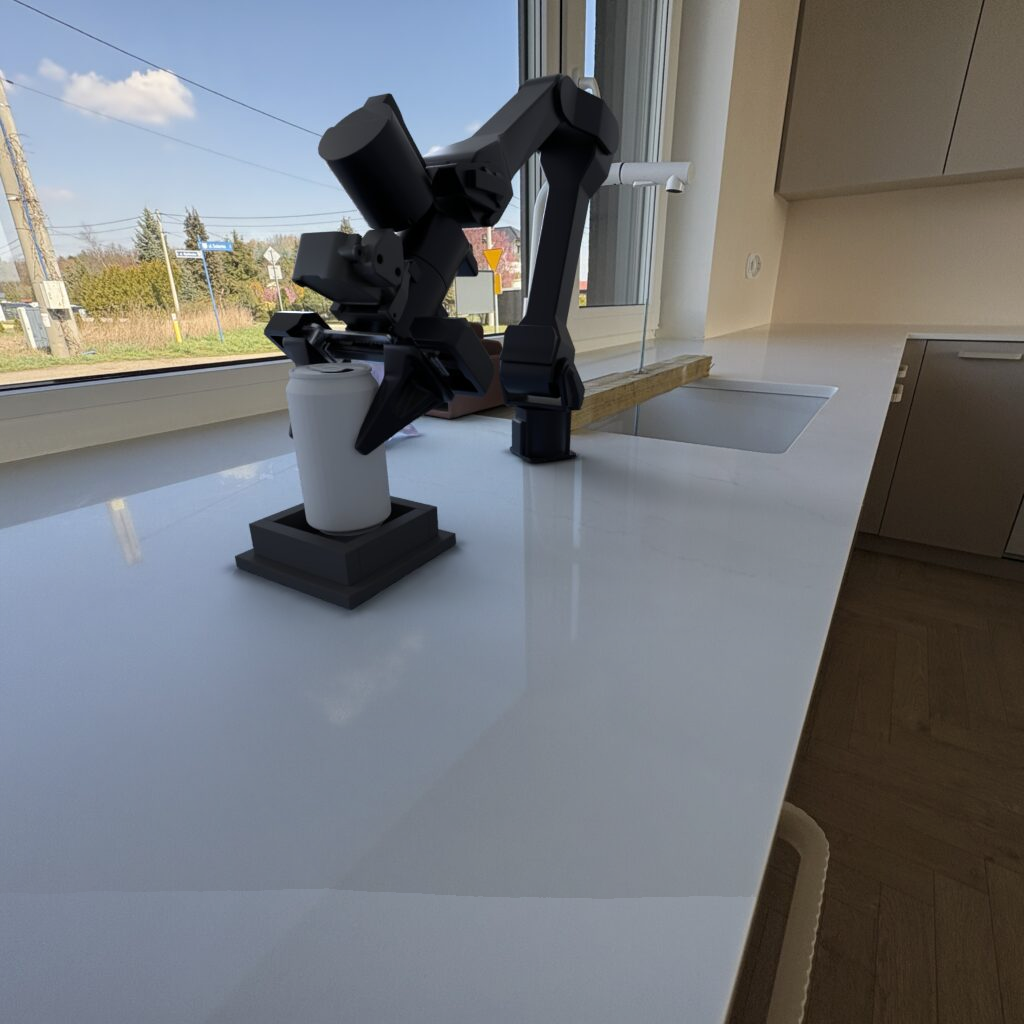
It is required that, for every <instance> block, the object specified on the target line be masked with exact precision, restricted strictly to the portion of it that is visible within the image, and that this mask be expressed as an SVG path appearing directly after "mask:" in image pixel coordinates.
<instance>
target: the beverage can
mask: <svg viewBox="0 0 1024 1024" xmlns="http://www.w3.org/2000/svg"><path fill="white" fill-rule="evenodd" d="M371 371H372V366H371V365H368V364H361V363H324V364H313V365H305V366H299V367H296V366H295V367H293V368H290V369H288V376H289V377H290V378H289V381H288V382H287V385H286V387H285V397H286V401H287V402H286V403H287V408H288V414H289V421H291V427H292V433H293V439H294V440H293V439H292V440H293V446H294V451H295V457H296V463H297V469H298V475H299V476H298V477H299V481H300V488H301V495H302V500H303V501H302V502H303V503H304V507H305V513H306V519H307V522H308V524H309V525H310V526H312V527H314V528H316V529H318V530H320V531H321V532H323V533H325V534H328V535H334V536H352V535H359V534H363V533H367V532H370V531H372V530H374V529H376V528H378V527H379V526H380V525H381V524H382V523H383V521H384V520H385V519H387V518H388V517H389V515H390V513H391V502H390V496H391V492H390V484H389V475H388V463H387V453H386V442H384V443H383V444H382V445H380V446H379V447H378V448H376V449H375V450H374V451H372V452H371V453H370V454H368V455H361V454H360V453H359V452H358V451H357V450H356V449H355V443H356V440H357V437H358V434H359V431H360V429H361V426H362V424H363V422H364V419H365V417H366V415H367V413H368V411H369V408H370V406H371V404H372V402H373V400H374V397H375V395H376V393H377V391H378V389H379V383H378V382H377V380H376V379H375V378H374V377H373V376H372V374H371Z"/></svg>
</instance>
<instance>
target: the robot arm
mask: <svg viewBox="0 0 1024 1024" xmlns="http://www.w3.org/2000/svg"><path fill="white" fill-rule="evenodd" d="M619 143H620V127H619V122H618V120H617V117H616V115H615V114H614V113H613V111H612V110H611V108H610V107H609V105H608V104H607V103H606V101H605V100H604V99H603V98H601V97H599V96H597V95H595V94H593V93H591V92H589V91H587V90H584V89H583V88H581V87H578V85H577V84H576V83H575V81H574V79H572V77H571V76H570V75H568V74H563V73H561V72H559V73H553V74H548V75H543V76H537V77H533V78H528V79H526V80H525V81H524V82H523V83H521V84H520V85H519V86H518V88H517V92H516V93H515V94H514V95H513V96H512V97H511V98H510V99H509V100H508V101H507V102H506V103H505V104H504V105H502V106H501V108H499V109H498V111H496V112H495V113H494V114H493V115H492V116H491V117H490V118H489V119H488V120H487V121H486V122H485V123H484V124H483V125H482V126H480V128H479V129H477V131H476V132H474V133H473V134H472V136H469V137H468V138H465V139H464V140H461V141H458V142H454V143H451V144H447V145H445V146H441V147H439V148H437V149H435V150H433V151H431V152H429V153H427V154H424V155H422V154H421V152H420V149H419V148H418V146H417V144H416V142H415V140H414V138H413V136H412V134H411V133H410V131H409V128H408V127H407V125H406V122H405V120H404V117H403V114H402V112H401V109H400V107H399V106H398V103H397V101H396V100H395V98H394V96H393V94H392V93H391V92H390V93H389V92H387V93H383V94H378V95H373V96H372V95H371V96H369V97H368V98H367V100H366V101H365V103H364V104H363V106H361V107H359V108H357V109H355V110H353V111H352V112H350V113H349V114H347V115H345V116H344V117H343V118H342V119H340V121H338V122H337V123H336V124H335V125H334V126H330V127H328V128H327V129H326V130H325V132H324V133H323V135H322V136H321V138H320V140H319V143H318V147H317V153H318V155H319V157H320V158H321V160H322V161H323V163H324V164H325V165H326V167H327V168H328V170H329V172H330V173H331V174H332V176H333V177H334V179H335V180H336V181H337V183H338V184H339V186H340V187H341V189H342V191H343V192H344V193H345V194H346V196H347V198H348V199H349V200H350V202H351V204H352V205H353V206H354V208H355V209H356V211H357V212H358V214H359V215H360V217H361V218H362V220H363V221H364V222H365V224H366V225H367V227H369V228H370V229H369V230H367V231H366V232H365V234H363V235H361V234H360V233H358V232H357V233H347V232H344V231H340V230H339V231H338V230H332V231H313V232H303V233H301V234H300V236H299V241H298V246H297V249H296V256H295V261H294V265H293V270H292V275H291V281H292V284H294V285H296V286H297V287H300V288H306V289H309V290H311V291H312V292H314V293H316V294H318V295H320V296H321V297H324V298H325V299H326V300H329V301H331V302H332V303H331V305H330V306H329V309H328V311H329V312H330V313H331V314H332V315H333V316H334V318H335V319H336V320H337V321H338V322H343V323H344V325H346V326H345V328H344V330H341V329H340V330H339V329H338V330H337V329H333V328H332V327H331V326H330V325H329V324H328V323H327V322H326V321H325V319H324V318H323V317H322V316H321V315H320V314H319V313H318V312H317V311H295V310H293V311H292V310H285V311H284V310H283V311H274V312H273V314H272V316H271V317H270V319H269V321H268V322H267V324H266V326H265V327H264V329H263V335H264V336H265V337H266V338H267V339H268V340H269V341H270V342H271V343H272V344H273V345H274V346H275V347H277V349H279V350H280V351H281V352H282V353H283V354H284V355H285V356H286V357H287V358H288V359H289V360H290V361H292V362H293V363H294V366H295V367H299V366H305V365H313V364H324V363H352V362H351V360H362V361H366V362H367V363H372V364H383V365H384V377H383V381H382V382H381V384H380V387H379V389H378V391H377V393H376V395H375V397H374V400H373V402H372V404H371V406H370V408H369V411H368V413H367V415H366V417H365V419H364V422H363V424H362V426H361V429H360V431H359V434H358V437H357V440H356V443H355V449H356V450H357V451H358V452H359V453H360V454H361V455H368V454H370V453H371V452H372V451H374V450H375V449H376V448H378V447H379V446H380V445H382V444H383V443H384V442H385V443H386V442H387V441H389V440H388V439H390V438H391V437H392V438H393V437H394V436H395V435H397V434H398V433H400V432H399V431H400V430H402V429H403V428H404V427H406V426H407V425H409V424H412V423H413V422H415V421H416V420H418V419H420V418H421V417H422V416H424V414H426V413H427V412H429V411H430V410H432V409H433V408H435V407H437V406H438V405H440V404H441V403H444V402H449V403H450V402H452V401H453V399H454V397H455V395H454V394H456V395H464V396H473V397H482V398H483V397H484V396H485V395H486V393H487V391H488V389H489V386H490V384H491V382H492V380H493V377H494V363H493V361H492V359H491V358H490V356H489V354H488V353H487V351H486V349H485V348H484V346H483V345H482V343H481V341H480V340H479V338H478V336H477V335H476V333H475V331H474V330H473V328H472V327H471V325H470V323H469V322H470V321H469V320H468V318H467V317H461V316H449V315H450V314H449V313H448V310H447V309H446V308H445V306H444V304H443V303H444V301H445V299H446V297H447V295H448V294H449V291H450V289H451V288H452V285H453V284H454V281H455V279H456V278H476V277H478V275H479V264H478V261H477V258H476V257H475V255H474V247H473V243H470V241H469V239H468V237H467V235H466V234H465V232H464V229H480V228H482V229H483V228H492V227H494V226H496V225H497V224H498V223H499V222H500V221H501V219H502V217H503V215H504V213H505V212H506V209H507V208H508V206H509V204H510V202H511V201H512V199H513V197H514V188H513V184H512V182H513V181H512V180H513V179H514V178H515V176H516V174H517V173H518V172H519V171H520V170H521V169H522V168H523V166H524V165H525V164H526V163H527V161H529V160H530V158H531V157H533V155H534V154H535V153H536V154H537V155H538V156H539V159H538V161H539V162H538V163H539V166H540V168H541V171H542V174H543V176H544V179H545V182H546V184H547V194H546V199H545V205H544V210H543V215H542V221H541V227H540V232H539V239H538V243H537V249H536V254H535V259H534V266H533V270H532V276H531V282H530V287H529V293H528V299H527V304H526V309H525V313H524V316H523V317H522V318H521V319H520V321H519V322H518V323H517V324H511V323H510V324H508V325H507V326H506V328H505V330H504V332H503V342H502V351H501V354H500V356H499V360H500V363H499V369H498V373H499V379H500V384H501V388H502V393H503V398H504V403H505V405H504V406H508V407H509V406H514V407H515V408H514V409H515V410H514V413H515V415H514V417H513V418H512V419H511V446H509V451H510V452H511V453H513V454H515V455H517V457H520V458H521V459H523V460H524V461H526V462H528V463H530V464H537V463H543V462H551V461H558V460H565V459H572V458H577V452H576V451H573V450H572V449H571V439H572V437H571V435H572V411H573V412H574V411H581V410H582V406H583V404H584V400H585V393H586V387H585V385H584V383H583V381H582V378H581V375H580V373H579V371H578V369H577V366H576V364H575V357H576V346H575V345H574V343H573V339H572V338H571V334H570V332H569V329H568V326H567V325H568V317H569V311H570V307H571V303H572V296H573V290H574V286H575V279H576V274H577V270H578V264H579V259H580V253H581V247H582V244H583V243H582V242H583V237H584V232H585V226H586V222H587V215H588V209H589V205H590V200H591V199H592V198H593V196H594V195H595V194H596V193H597V191H598V190H599V189H600V188H601V187H602V185H603V184H605V182H606V181H607V180H608V177H609V175H610V171H611V167H612V164H613V159H614V156H615V154H616V153H617V151H618V148H619ZM289 421H290V420H289ZM288 437H289V438H290V439H292V440H293V441H294V439H293V433H292V427H291V421H290V423H289V428H288Z"/></svg>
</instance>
